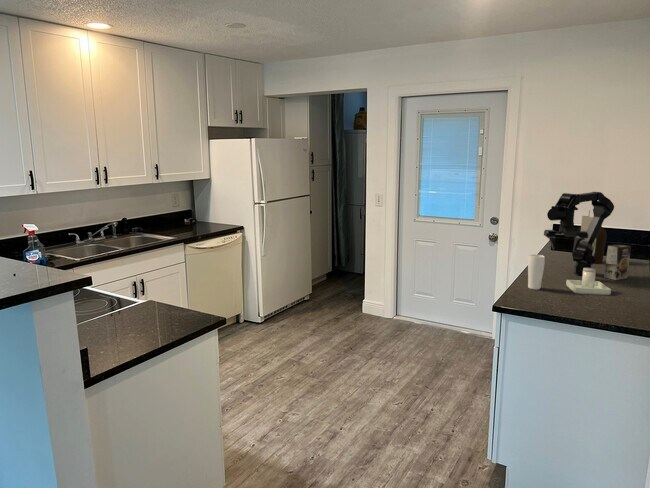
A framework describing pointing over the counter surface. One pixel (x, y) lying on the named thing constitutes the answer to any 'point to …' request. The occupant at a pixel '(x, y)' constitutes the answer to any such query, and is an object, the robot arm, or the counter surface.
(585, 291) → the tray
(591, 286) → the shaker
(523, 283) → the counter surface
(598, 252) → the olive oil
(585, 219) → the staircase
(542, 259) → the drinking glass
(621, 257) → the coffee box
